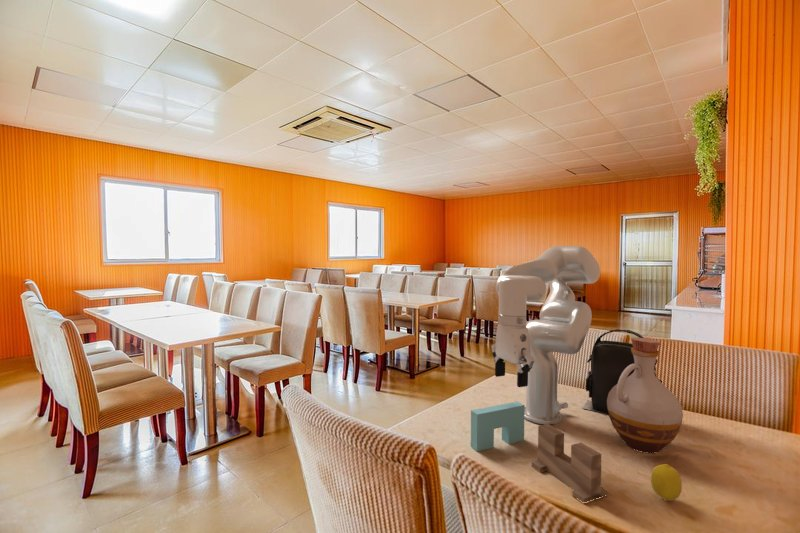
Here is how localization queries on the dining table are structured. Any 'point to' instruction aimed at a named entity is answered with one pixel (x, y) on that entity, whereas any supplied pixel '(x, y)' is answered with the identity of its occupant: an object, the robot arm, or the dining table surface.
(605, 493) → the walnut stand
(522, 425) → the teal notched arch
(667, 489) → the lemon
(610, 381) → the shoulder bag
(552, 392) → the robot arm
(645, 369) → the jug
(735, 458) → the dining table surface
